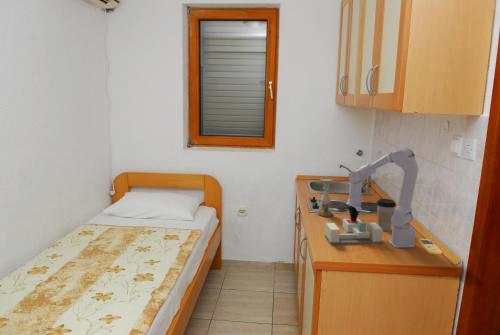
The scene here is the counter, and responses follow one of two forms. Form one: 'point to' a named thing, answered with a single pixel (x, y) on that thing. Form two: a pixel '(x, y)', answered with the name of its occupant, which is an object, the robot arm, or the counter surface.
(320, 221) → the counter surface
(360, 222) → the carriage
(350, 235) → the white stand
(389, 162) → the robot arm
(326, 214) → the candle holder
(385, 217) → the coffee cup
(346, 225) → the box
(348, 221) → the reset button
